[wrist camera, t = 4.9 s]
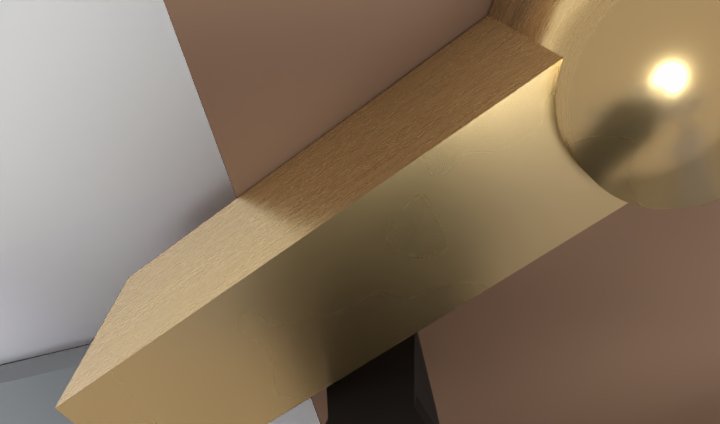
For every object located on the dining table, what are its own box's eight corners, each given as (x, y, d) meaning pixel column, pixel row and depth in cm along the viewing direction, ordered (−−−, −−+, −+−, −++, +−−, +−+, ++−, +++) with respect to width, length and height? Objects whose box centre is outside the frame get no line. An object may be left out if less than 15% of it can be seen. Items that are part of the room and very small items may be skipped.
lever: (605, -98, 7) (779, -113, 4) (677, 50, 7) (860, 118, 5) (115, 265, 8) (21, 415, 6) (214, 356, 9) (170, 524, 6)
